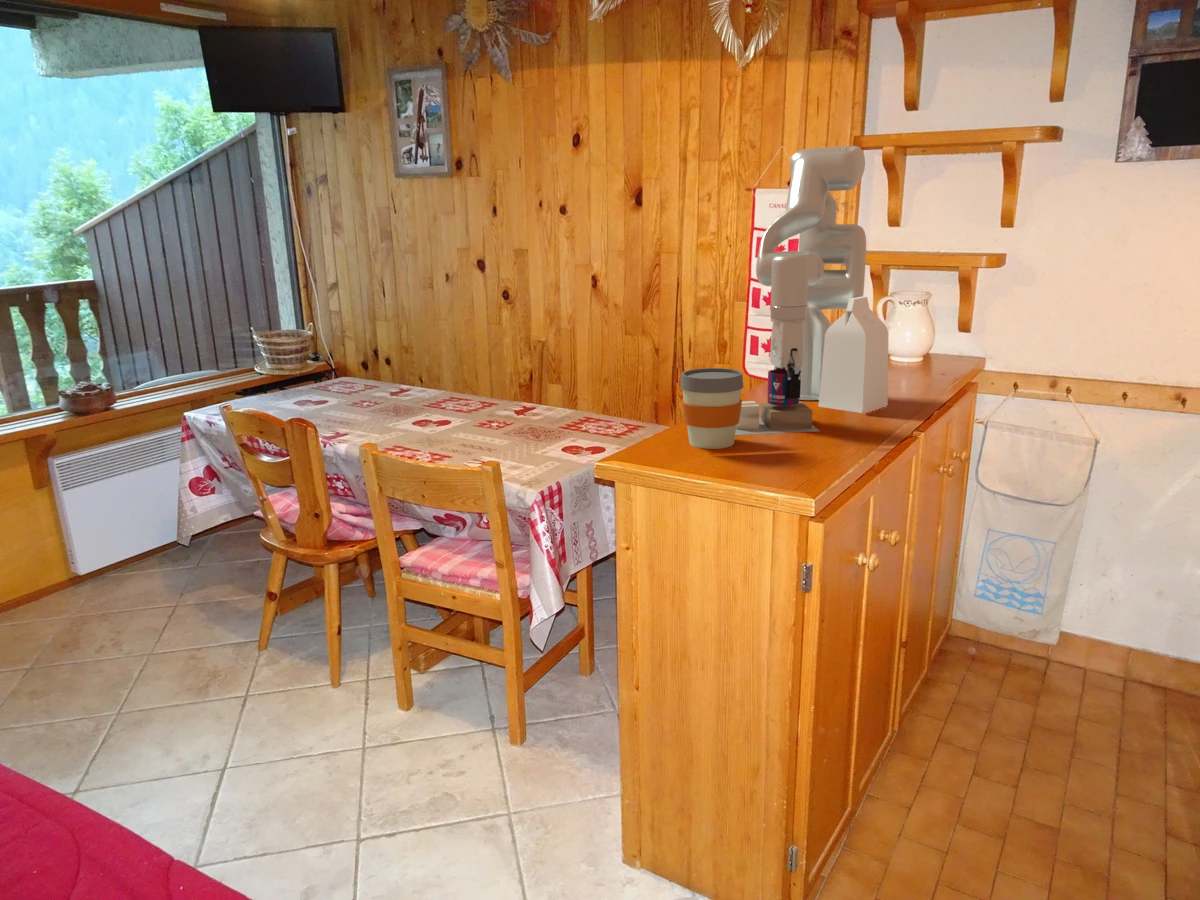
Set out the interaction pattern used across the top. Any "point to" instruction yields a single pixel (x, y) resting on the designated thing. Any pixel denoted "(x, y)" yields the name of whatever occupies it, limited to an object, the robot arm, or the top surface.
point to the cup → (778, 388)
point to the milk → (855, 361)
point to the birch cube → (749, 416)
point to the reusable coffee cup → (711, 406)
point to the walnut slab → (786, 416)
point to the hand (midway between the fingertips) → (786, 393)
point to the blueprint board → (765, 430)
